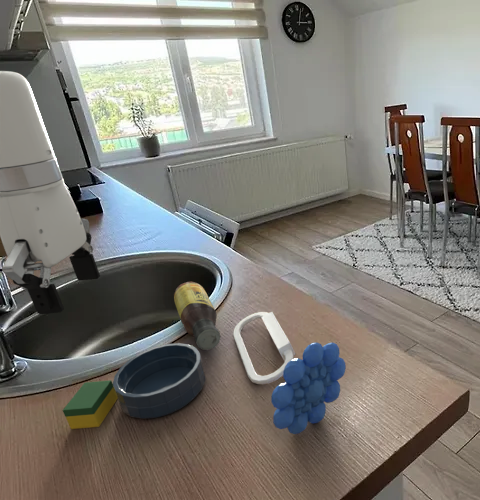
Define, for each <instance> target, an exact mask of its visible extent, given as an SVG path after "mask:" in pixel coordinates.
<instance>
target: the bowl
mask: <svg viewBox="0 0 480 500" xmlns="http://www.w3.org/2000/svg"><path fill="white" fill-rule="evenodd" d="M206 380H207V377H206V370H205V367H204V362H203V359H202V355H201V352H200V351H199V350H198V348H197V347H196V346H193V345H192V344H191V345H190V344H188V343H181V342H177V343H166V344H162V345H158V346H154V347H151V348H148V349H146V350H144V351H141V352H140V353H138V354H137V355H135V356H133V357H131V358H130V359H129V360H127V361H126V362H125V363H124V364H122V365H121V366H120V368H119V369H118V370H117V372H116V373H115V374H114V377H113V380H112V384H113V387H114V389H115V392H116V394H117V397H118V399H117V400H118V401H119V404H120V408H121V409H122V412H123V413H124V414H126V415H128V416H129V417H132V418H136V419H155V418H156V419H157V418H161V417H165V416H167V415H170V414H173V413H175V412H177V411H179V410H180V409H182V408H184V407H185V406H187V405H188V404H189V403H191V402H192V401H193V400H194V399H195V398H196V397H197V395H198V394H200V392H201V391H202V389H203V388H204V386H205V383H206Z"/></svg>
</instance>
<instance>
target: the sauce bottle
mask: <svg viewBox="0 0 480 500" xmlns="http://www.w3.org/2000/svg"><path fill="white" fill-rule="evenodd" d="M174 291H175V292H174V293H173V300H174V304H175V308H176V310H177V313H178V316H179V319H180V322H181V324H182V325H183V328H184V330H185V332H187V333H188V335H190V336H193V337H194V341H195V343H196V346H197V347H198V348H199V349H201V350H204V351H209V350H212V349H214V348H216V347H217V346H218V345H219V343H220V341H221V334H220V331H219V329H218V328H217V327H216V323H217V318H218V317H217V316H218V315H217V314H218V313H217V311H216V309H215V307H214V305H213V303H212V301H211V299H210V298H209V296H208V294H207V292H206V290H205V288H204V287H203V286H202V285H201V284H199V283H197V282H194V281H187V282H184V283H181V284H180V285H178V286H177V288H176V289H175V290H174Z"/></svg>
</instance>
